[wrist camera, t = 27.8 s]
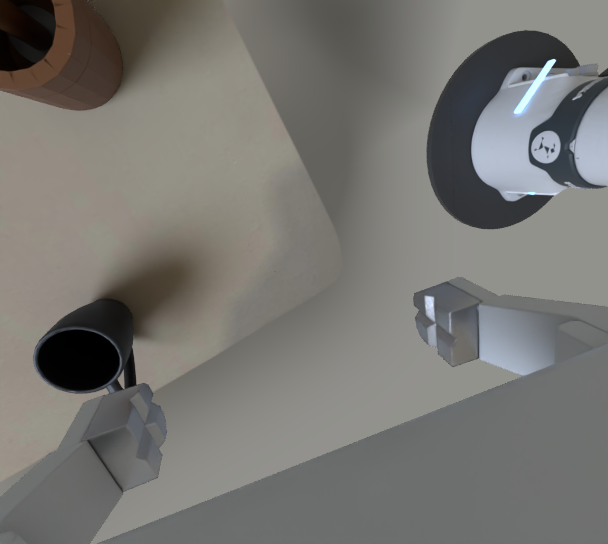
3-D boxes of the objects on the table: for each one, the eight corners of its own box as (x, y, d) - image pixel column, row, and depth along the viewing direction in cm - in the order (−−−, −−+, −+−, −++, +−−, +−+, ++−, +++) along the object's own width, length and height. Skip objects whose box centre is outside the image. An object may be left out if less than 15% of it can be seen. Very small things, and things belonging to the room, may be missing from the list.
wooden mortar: (95, -16, 31) (26, -110, 20) (138, 99, 35) (101, 74, 24) (-18, 2, 30) (-159, -87, 19) (40, 120, 33) (-48, 104, 22)
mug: (114, 375, 45) (89, 429, 36) (57, 306, 40) (12, 348, 31) (170, 350, 45) (158, 396, 37) (120, 278, 41) (93, 312, 32)
